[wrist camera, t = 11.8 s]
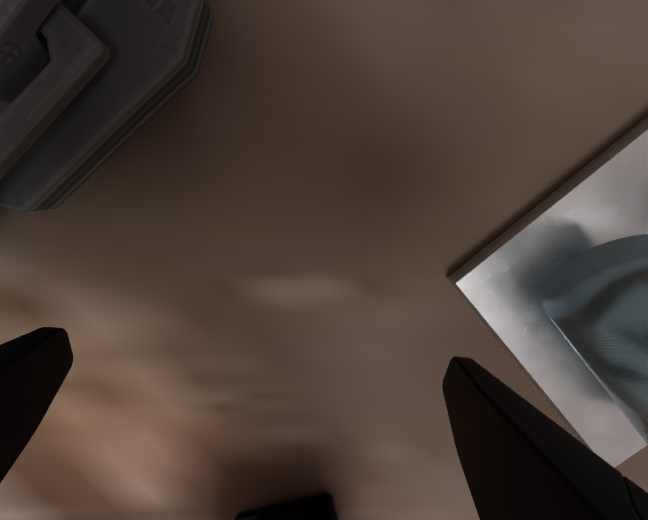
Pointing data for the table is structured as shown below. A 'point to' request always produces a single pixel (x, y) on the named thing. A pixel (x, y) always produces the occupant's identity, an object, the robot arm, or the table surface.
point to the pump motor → (578, 297)
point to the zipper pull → (85, 85)
